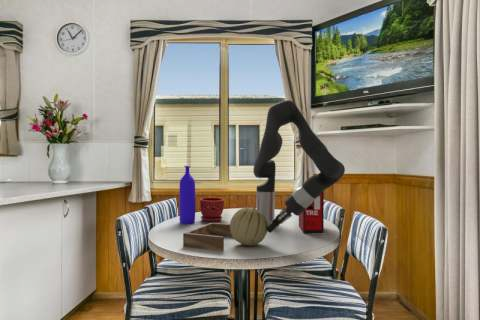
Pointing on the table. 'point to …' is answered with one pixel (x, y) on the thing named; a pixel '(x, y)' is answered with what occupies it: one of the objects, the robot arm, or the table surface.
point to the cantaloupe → (248, 226)
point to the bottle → (187, 198)
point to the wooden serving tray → (207, 236)
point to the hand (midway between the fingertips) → (268, 230)
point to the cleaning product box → (313, 217)
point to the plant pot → (211, 209)
